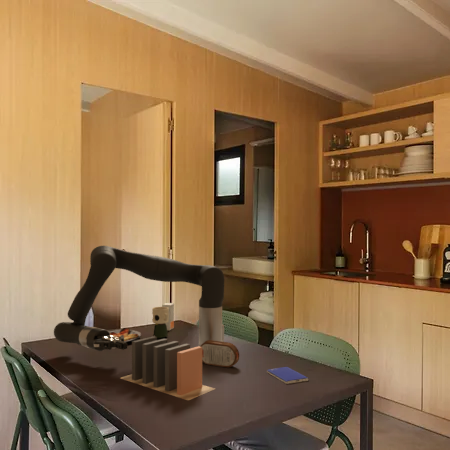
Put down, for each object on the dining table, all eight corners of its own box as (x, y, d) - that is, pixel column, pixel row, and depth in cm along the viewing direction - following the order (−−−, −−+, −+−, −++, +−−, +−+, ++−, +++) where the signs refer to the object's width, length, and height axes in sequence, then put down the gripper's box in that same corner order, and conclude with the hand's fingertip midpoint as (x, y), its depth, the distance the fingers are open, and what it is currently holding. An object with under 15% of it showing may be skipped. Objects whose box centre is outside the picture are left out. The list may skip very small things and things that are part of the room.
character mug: (147, 336, 209) (147, 307, 209) (161, 334, 213) (161, 305, 213) (159, 341, 200) (159, 310, 200) (174, 338, 205) (174, 308, 205)
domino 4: (164, 390, 138) (165, 349, 138) (186, 382, 145) (186, 343, 145) (168, 391, 137) (168, 350, 137) (190, 383, 144) (190, 344, 144)
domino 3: (153, 386, 142) (153, 346, 142) (174, 379, 149) (174, 340, 149) (157, 387, 141) (157, 347, 141) (178, 380, 148) (178, 341, 148)
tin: (239, 367, 164) (239, 343, 164) (236, 369, 161) (236, 345, 161) (201, 361, 170) (201, 338, 170) (197, 364, 168) (197, 340, 168)
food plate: (137, 331, 218) (137, 324, 217) (145, 344, 195) (145, 336, 195) (81, 337, 210) (81, 329, 210) (82, 351, 188) (82, 342, 188)
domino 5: (177, 394, 135) (177, 352, 135) (198, 385, 142) (198, 346, 142) (181, 395, 134) (181, 353, 134) (202, 387, 141) (202, 347, 141)
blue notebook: (266, 369, 158) (286, 380, 147) (287, 366, 161) (308, 377, 150) (266, 374, 158) (286, 385, 147) (287, 371, 161) (308, 382, 150)
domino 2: (142, 382, 145) (142, 343, 145) (163, 375, 152) (163, 338, 152) (145, 384, 144) (146, 344, 144) (167, 376, 151) (167, 339, 151)
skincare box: (170, 330, 220) (170, 305, 220) (161, 330, 221) (161, 304, 221) (174, 327, 226) (174, 303, 226) (165, 327, 227) (165, 302, 227)
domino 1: (131, 379, 148) (132, 341, 148) (153, 372, 155) (153, 336, 155) (135, 380, 147) (135, 342, 147) (156, 373, 154) (156, 336, 154)
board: (119, 380, 149) (119, 378, 149) (148, 371, 159) (148, 369, 159) (188, 403, 130) (188, 400, 130) (216, 391, 140) (216, 388, 140)
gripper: (109, 345, 173) (140, 353, 162) (78, 352, 163) (109, 361, 152) (109, 324, 173) (140, 331, 162) (78, 330, 163) (109, 338, 152)
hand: (125, 346), depth 157 cm, fingers closed
